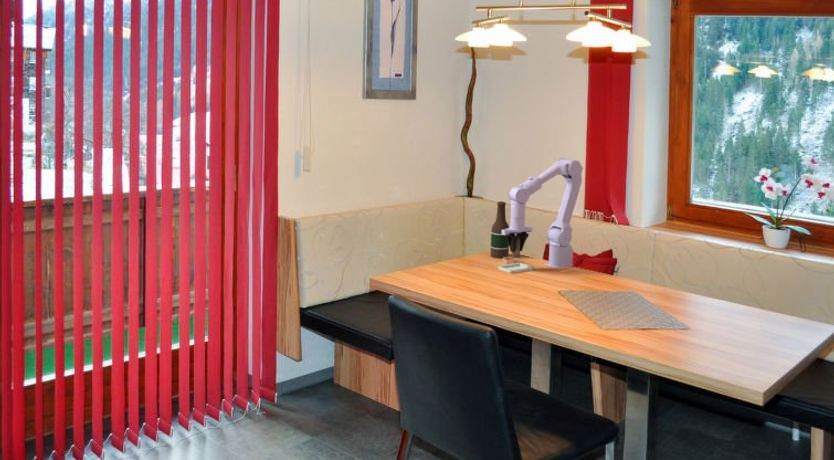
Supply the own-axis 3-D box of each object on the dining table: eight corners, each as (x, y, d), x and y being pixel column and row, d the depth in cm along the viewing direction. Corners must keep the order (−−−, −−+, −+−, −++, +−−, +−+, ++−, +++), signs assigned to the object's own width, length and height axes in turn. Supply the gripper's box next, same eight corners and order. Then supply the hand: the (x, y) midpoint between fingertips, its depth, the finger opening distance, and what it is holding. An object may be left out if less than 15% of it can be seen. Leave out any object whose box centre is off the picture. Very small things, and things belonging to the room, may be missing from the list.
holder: (511, 261, 369) (511, 256, 368) (521, 265, 364) (521, 259, 363) (499, 263, 365) (499, 257, 365) (509, 266, 360) (509, 260, 360)
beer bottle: (506, 255, 380) (509, 200, 376) (509, 259, 373) (512, 203, 368) (489, 255, 380) (491, 200, 375) (491, 259, 372) (493, 203, 368)
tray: (519, 266, 361) (519, 262, 361) (534, 271, 354) (534, 267, 354) (496, 269, 355) (496, 266, 354) (511, 274, 347) (511, 270, 347)
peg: (516, 256, 356) (517, 237, 354) (521, 257, 353) (522, 239, 351) (510, 256, 354) (510, 238, 353) (514, 258, 351) (515, 239, 350)
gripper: (524, 214, 357) (523, 247, 360) (497, 217, 349) (495, 251, 352) (536, 217, 352) (535, 250, 354) (508, 220, 344) (507, 254, 346)
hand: (516, 251), depth 353 cm, fingers closed on peg, 3 cm apart
